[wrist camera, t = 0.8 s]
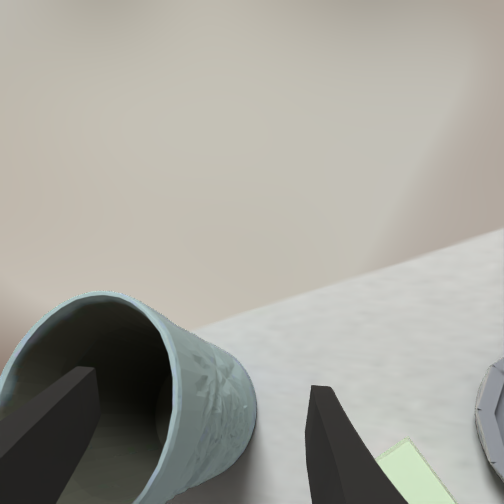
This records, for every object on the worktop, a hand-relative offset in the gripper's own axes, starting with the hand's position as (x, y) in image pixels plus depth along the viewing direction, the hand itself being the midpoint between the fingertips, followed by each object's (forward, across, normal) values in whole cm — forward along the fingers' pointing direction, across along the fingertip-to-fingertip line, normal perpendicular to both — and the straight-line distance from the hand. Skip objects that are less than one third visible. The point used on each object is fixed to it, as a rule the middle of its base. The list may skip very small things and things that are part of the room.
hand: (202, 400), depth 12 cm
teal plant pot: (+10, +2, +11) cm, 15 cm away
